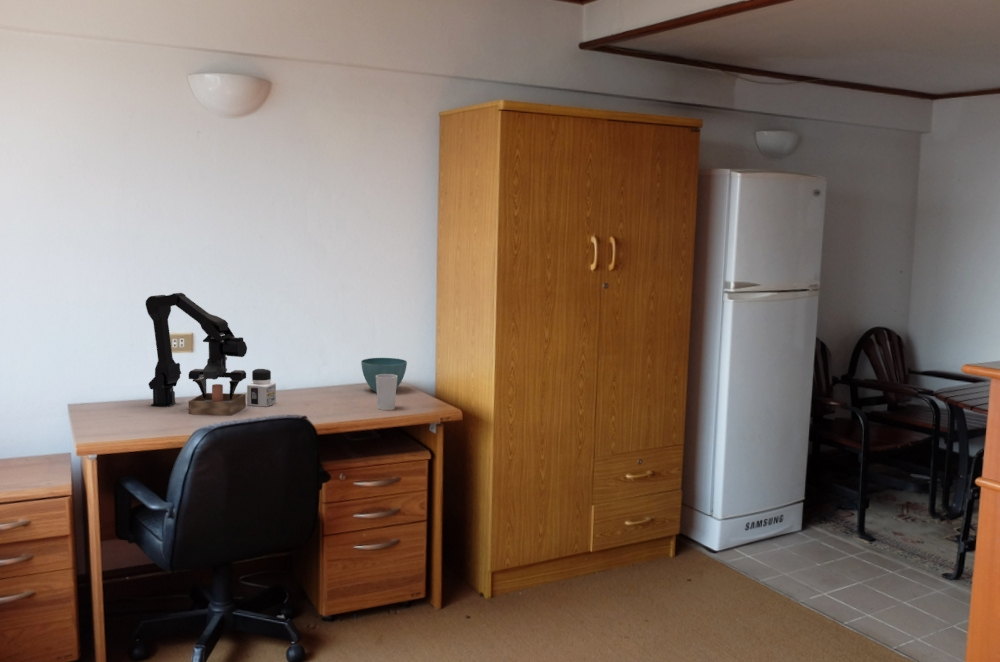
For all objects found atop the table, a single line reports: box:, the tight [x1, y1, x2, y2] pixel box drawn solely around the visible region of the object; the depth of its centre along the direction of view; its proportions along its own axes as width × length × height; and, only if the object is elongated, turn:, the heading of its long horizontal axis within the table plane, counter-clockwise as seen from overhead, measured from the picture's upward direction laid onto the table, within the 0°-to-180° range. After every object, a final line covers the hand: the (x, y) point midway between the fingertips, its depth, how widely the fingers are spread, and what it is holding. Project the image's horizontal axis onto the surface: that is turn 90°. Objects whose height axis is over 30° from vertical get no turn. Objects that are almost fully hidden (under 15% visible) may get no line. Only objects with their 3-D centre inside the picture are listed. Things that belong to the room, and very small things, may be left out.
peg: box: [211, 383, 224, 402], centre depth 303 cm, size 4×4×9 cm
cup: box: [376, 374, 398, 411], centre depth 314 cm, size 8×8×12 cm
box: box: [188, 392, 247, 416], centre depth 304 cm, size 15×15×4 cm
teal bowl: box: [360, 357, 408, 393], centre depth 346 cm, size 18×18×12 cm
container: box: [246, 368, 277, 408], centre depth 315 cm, size 8×8×13 cm
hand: (217, 398), depth 303 cm, fingers open, 9 cm apart
